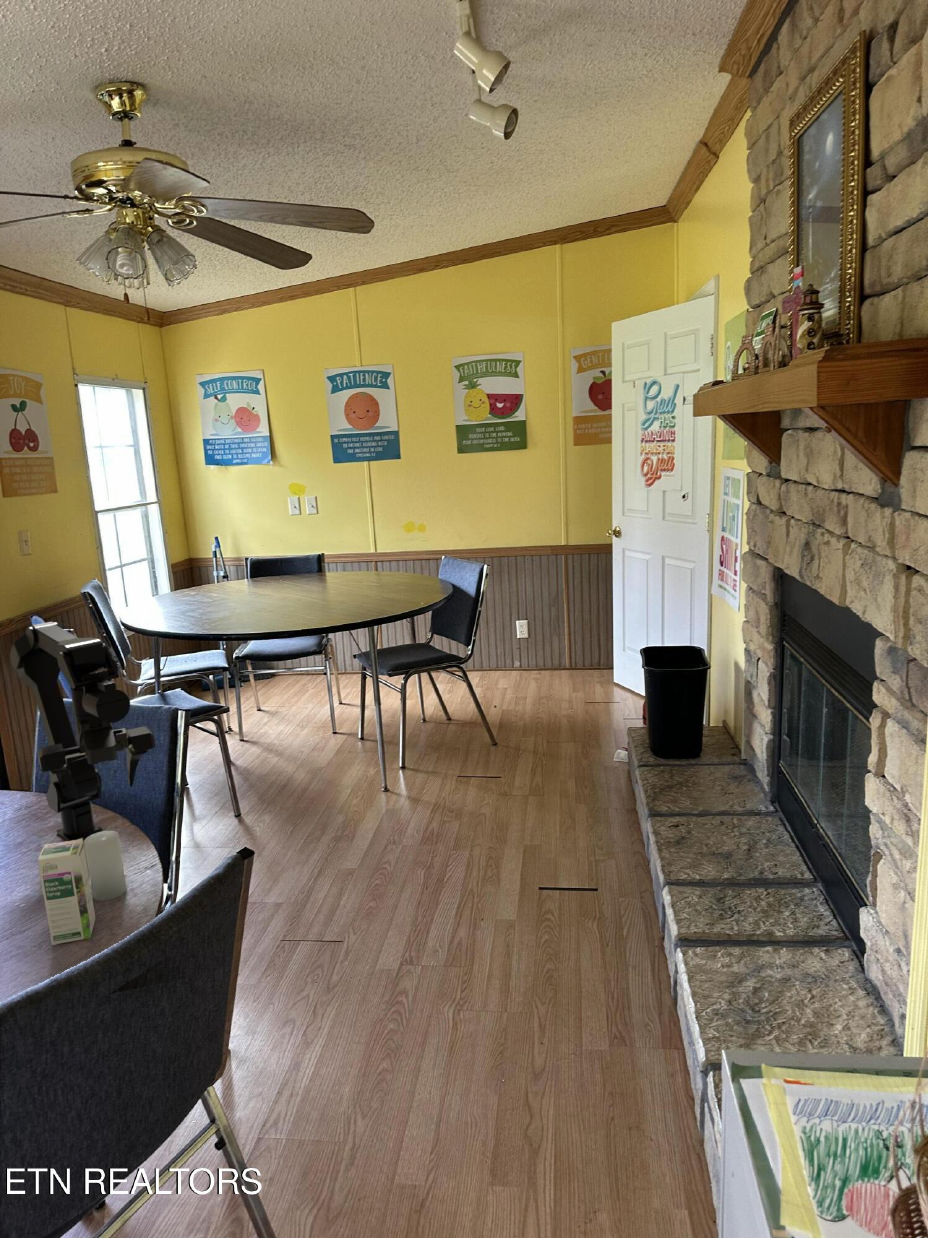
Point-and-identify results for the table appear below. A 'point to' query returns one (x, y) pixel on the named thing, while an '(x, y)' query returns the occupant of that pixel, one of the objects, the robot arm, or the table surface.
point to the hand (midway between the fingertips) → (103, 792)
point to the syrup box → (66, 891)
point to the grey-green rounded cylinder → (105, 865)
